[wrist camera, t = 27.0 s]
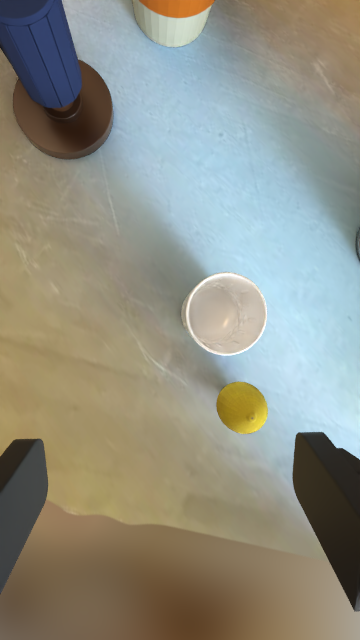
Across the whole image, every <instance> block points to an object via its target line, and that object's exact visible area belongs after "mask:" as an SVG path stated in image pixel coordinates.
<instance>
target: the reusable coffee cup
mask: <svg viewBox="0 0 360 640" xmlns="http://www.w3.org/2000/svg"><path fill="white" fill-rule="evenodd" d="M214 1H215V0H132V2H133V8H134V13H135V18H136V20H137V23H138V25H139V27H140V28H141V30H142V31H143V32H144V34H145V35H146V36H147V37H148V38H150V39H151V40H152V41H154V42H156V43H158V44H160V45H163V46H166V47H181V46H184V45H187V44H189V43H191V42H193V41H194V40H195V39H196V38H197V37H198V36H199V35H200V33H201V32H202V30H203V28H204V26H205V23H206V21H207V18H208V15H209V12H210V9H211V6H212V4H213V3H214Z"/></svg>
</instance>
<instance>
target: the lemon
mask: <svg viewBox="0 0 360 640" xmlns="http://www.w3.org/2000/svg"><path fill="white" fill-rule="evenodd" d="M217 412H218V415H219V417H220V419H221V420H222V422H223V423H224V424H225V425H226V426H227V427H228V428H229V429H231V430H233V431H235V432H237V433H242V434H249V433H253V432H255V431H257V430H259V429H260V428H261V427H262V426H263V425H264V423H265V421H266V418H267V414H268V408H267V403H266V401H265V398H264V396H263V395H262V394H261V392H260V391H259V390H258V389H257V388H255V387H254V386H253V385H251V384H248V383H245V382H234V383H231V384H228V385H227V386H225V387H224V388H223V389H222V390H221V392H220V393H219V395H218V398H217Z"/></svg>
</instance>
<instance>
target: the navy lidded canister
mask: <svg viewBox="0 0 360 640" xmlns="http://www.w3.org/2000/svg"><path fill="white" fill-rule="evenodd" d="M0 48H1V50H2V51H3V53H4V54H5V56H6V57H7V59H8V60H9V62H10V63H11V65H12V67H13V69H14V70H15V72H16V74H17V76H18V78H19V79H20V81H21V83H22V85H23V87H24V88H25V90H26V91H27V93H28V94H29V96H30V98H31V99H32V100H33V101H35V102H37V103H39V104H41V105H42V106H44V107H46V106H47V108H61V107H64V106H66V105H68V104H70V103H71V102H73V101H75V100H74V99H76V98H77V96H78V94H79V92H80V90H81V88H82V87H81V86H82V76H81V70H80V66H79V62H78V59H77V55H76V51H75V48H74V44H73V40H72V37H71V33H70V30H69V26H68V22H67V19H66V15H65V11H64V8H63V4H62V0H0Z"/></svg>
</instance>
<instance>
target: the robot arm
mask: <svg viewBox="0 0 360 640" xmlns="http://www.w3.org/2000/svg"><path fill="white" fill-rule="evenodd" d="M356 248H357V253H358V256H359V259H360V228H359V231H358V234H357V240H356ZM293 485H294V490H295V493H296V496H297V498H298V500H299V502H300V504H301V506H302V508H303V510H304V512H305V514H306V516H307V518H308V520H309V522H310V524H311V526H312V528H313V530H314V532H315V534H316V536H317V538H318V540H319V542H320V544H321V546H322V548H323V550H324V552H325V554H326V556H327V558H328V560H329V562H330V564H331V565H332V568H333V570H334V572H335V573H336V575H337V577H338V579H339V581H340V583H341V585H342V587H343V589H344V591H345V593H346V595H347V597H348V599H349V601H350V603H351V605H352V607H353V609H354V611H360V460H359V459H358V458H357V457H355V456H354V455H352V454H350V453H349V452H347V451H346V450H344V449H343V448H336V447H335V446H334V444H333V443H332V442H331V441H330V440H329V438H328V437H327V436H326V435H325V434H324V433H323V432H304V433H297V435H296V439H295V451H294V464H293ZM47 492H48V477H47V468H46V460H45V451H44V444H43V441H42V440H41V439H16V440H14V441H13V442H12V443H11V444H10V445H9V447H8V448H7V449H6V450H5V452H4V453H3V454H2V455H1V457H0V594H1V592H2V590H3V588H4V586H5V583H6V582H7V579H8V577H9V575H10V573H11V571H12V569H13V567H14V565H15V563H16V561H17V559H18V557H19V555H20V553H21V551H22V549H23V547H24V545H25V543H26V540H27V538H28V536H29V534H30V532H31V530H32V528H33V526H34V524H35V522H36V520H37V518H38V516H39V514H40V512H41V510H42V508H43V506H44V503H45V501H46V497H47Z"/></svg>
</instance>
